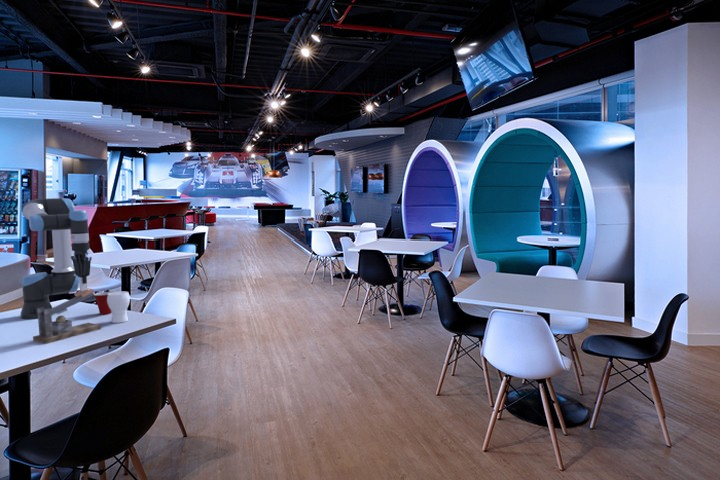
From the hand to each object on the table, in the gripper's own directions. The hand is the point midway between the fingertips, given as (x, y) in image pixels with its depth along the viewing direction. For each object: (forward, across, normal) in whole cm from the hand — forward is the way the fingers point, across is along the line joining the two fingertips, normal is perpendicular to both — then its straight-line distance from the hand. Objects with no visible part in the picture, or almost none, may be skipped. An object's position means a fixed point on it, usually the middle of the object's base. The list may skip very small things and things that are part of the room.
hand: (83, 290), depth 231 cm
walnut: (+12, 0, -12) cm, 17 cm away
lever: (+7, 0, -7) cm, 10 cm away
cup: (+20, 0, +18) cm, 27 cm away
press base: (+20, 0, -9) cm, 22 cm away
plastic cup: (+20, -22, +25) cm, 39 cm away
